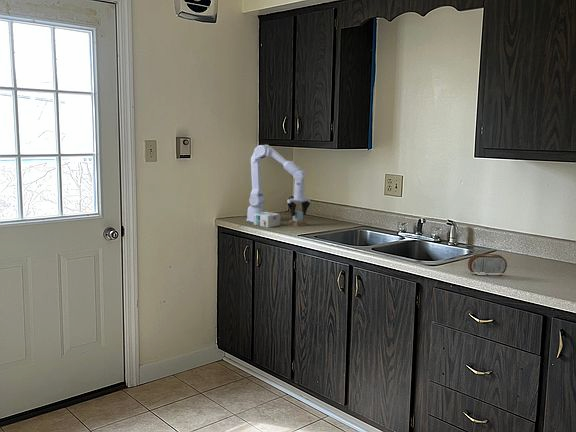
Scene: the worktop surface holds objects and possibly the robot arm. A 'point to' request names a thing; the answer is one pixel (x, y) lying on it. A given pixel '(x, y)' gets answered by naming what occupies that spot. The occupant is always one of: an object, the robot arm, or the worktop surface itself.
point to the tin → (487, 263)
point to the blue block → (298, 216)
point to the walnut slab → (298, 223)
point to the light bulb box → (266, 219)
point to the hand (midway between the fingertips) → (298, 215)
